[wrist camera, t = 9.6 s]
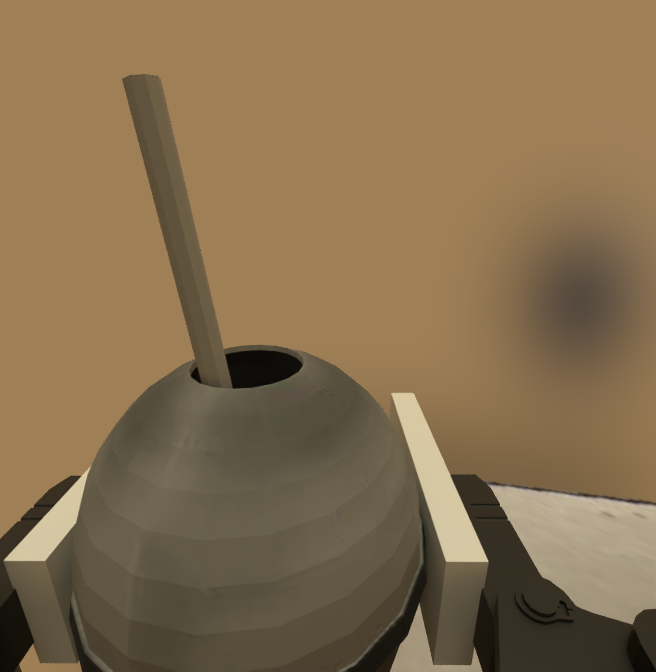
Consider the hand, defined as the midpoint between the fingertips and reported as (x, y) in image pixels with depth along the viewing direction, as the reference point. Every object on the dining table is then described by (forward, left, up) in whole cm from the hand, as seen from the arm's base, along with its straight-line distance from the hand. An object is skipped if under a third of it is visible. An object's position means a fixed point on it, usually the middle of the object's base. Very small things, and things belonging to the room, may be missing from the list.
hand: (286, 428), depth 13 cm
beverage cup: (0, +5, -11) cm, 12 cm away
